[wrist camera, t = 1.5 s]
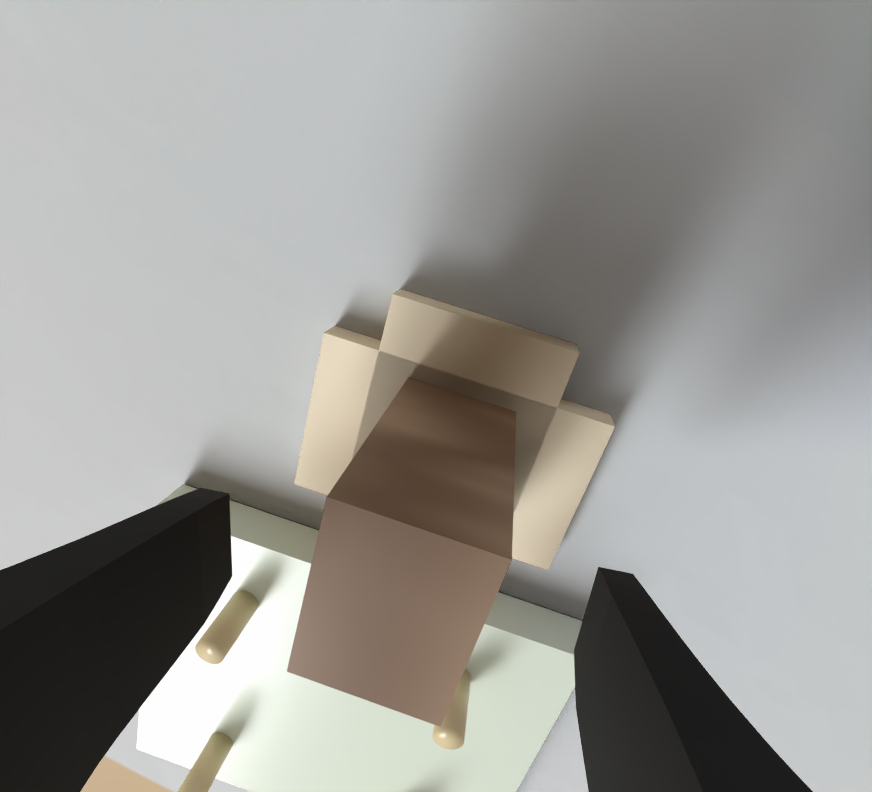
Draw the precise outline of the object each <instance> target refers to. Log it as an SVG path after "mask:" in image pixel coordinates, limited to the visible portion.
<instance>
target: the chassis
mask: <svg viewBox="0 0 872 792" xmlns="http://www.w3.org/2000/svg"><path fill="white" fill-rule="evenodd" d="M194 490H197V489H196V488H193V487H190V486H187V485H184V484H183V485H181V486H180V487H179V488H178V489H177V490H175V491H174V492H173V493H172V494H170V495H169V496H168V497H167V498H165V499H164V500H163V501H162V502H160V503H159V504H162V503H164V502H166V501H169V500H171V499H173V498H176V497H178V496H181V495H183V494H186V493H188V492H191V491H194ZM159 504H158V505H159ZM230 525H231V551H232V578H231V580H230V581H229V583H228V585H227V587H226V588H225V590H224V592H223V594H222V595H221V597H220V599H219V601H218V602H217V604H216V606H215V607H214V609H213V610H212V612H211V614H210V615H209V617H208V619H207V620H206V622H205V624H204V625H203V626H202V628H201V629H200V630H199V632H198V633H197V634H196V636H195V637H194V638H193V640H192V641H191V642H190V644H189V645H188V646H187V647H186V649H185V650H184V651H183V653H182V654H181V655H180V657H179V658H178V659H177V661H176V662H175V663H174V665H173V666H172V667H171V668H170V670H169V671H168V672H167V674H166V675H165V676H164V677H163V679H162V680H161V681H160V683H159V684H158V685H157V687H156V688H155V689H154V690H153V692H152V693H151V694H150V696H149V697H148V698H147V699H146V701H145V702H144V703H143V705H142V706H141V707H140V709H139V720H138V735H137V749H138V750H141V751H143V752H146V753H149V754H151V755H154V756H157V757H159V758H162V759H165V760H167V761H170V762H173V763H176V764H178V765H181V766H184V767H186V768H189V769H191V770H190V772H189V774H188V775H187V777H186V779H185V780H184V782H183V784H182V785H181V787H180V789H179V790H178V792H208V790H209V788H210V786H211V785H212V783H213V781H214V779H215V778H216V779H218V780H221V781H224V782H226V783H229V784H232V785H234V786H237V787H240V788H242V789H245V790H248V791H250V792H516V791H517V789H518V787H519V785H520V784H521V782H522V780H523V778H524V776H525V775H526V773H527V771H528V769H529V768H530V766H531V764H532V762H533V760H534V759H535V757H536V755H537V753H538V752H539V750H540V748H541V746H542V744H543V743H544V741H545V739H546V737H547V735H548V734H549V732H550V730H551V728H552V727H553V725H554V723H555V721H556V719H557V718H558V716H559V714H560V712H561V711H562V709H563V707H564V705H565V703H566V702H567V700H568V698H569V696H570V694H571V693H572V691H573V689H574V687H575V668H574V648H575V645H576V642H577V638H578V635H579V631H580V628H581V625H582V621H581V620H578V619H575V618H572V617H569V616H566V615H563V614H560V613H557V612H555V611H552V610H549V609H546V608H543V607H540V606H537V605H534V604H531V603H528V602H525V601H523V600H520V599H517V598H514V597H511V596H508V595H505V594H502V593H499V592H498V593H497V596H496V598H495V600H494V603H493V605H492V607H491V610H490V612H489V614H488V617H487V619H486V621H485V624H484V626H483V628H482V631H481V633H480V635H479V638H478V640H477V642H476V645H475V647H474V649H473V652H472V654H471V657H470V659H469V661H468V664H467V666H466V668H465V671H464V673H463V675H462V678H461V680H460V682H459V685H458V687H457V689H456V692H455V694H454V696H453V699H452V701H451V703H450V706H449V708H448V710H447V713H446V715H445V717H444V720H443V722H442V724H441V727H439V726H437V725H434V724H431V723H428V722H425V721H423V720H420V719H417V718H414V717H412V716H409V715H406V714H403V713H400V712H398V711H395V710H392V709H389V708H387V707H384V706H381V705H378V704H375V703H373V702H370V701H367V700H364V699H362V698H359V697H356V696H353V695H350V694H348V693H345V692H342V691H339V690H337V689H334V688H331V687H328V686H325V685H323V684H320V683H317V682H314V681H312V680H309V679H306V678H303V677H300V676H298V675H295V674H292V673H289V672H287V668H288V663H289V659H290V655H291V650H292V646H293V642H294V637H295V633H296V628H297V624H298V620H299V615H300V611H301V607H302V602H303V598H304V594H305V589H306V585H307V580H308V576H309V572H310V567H311V563H312V559H313V554H314V550H315V546H316V541H317V537H318V532H319V530H316V529H313V528H310V527H307V526H304V525H301V524H298V523H295V522H292V521H289V520H286V519H284V518H281V517H278V516H275V515H272V514H269V513H266V512H263V511H260V510H257V509H254V508H251V507H249V506H246V505H243V504H240V503H237V502H234V501H231V500H230Z"/></svg>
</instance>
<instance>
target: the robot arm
mask: <svg viewBox="0 0 872 792" xmlns="http://www.w3.org/2000/svg"><path fill="white" fill-rule="evenodd" d="M231 578H232V551H231V525H230V499H229V494H228V493H223V492H218V491H213V490H208V489H203V488H199V489H197V490H194V491H191V492H188V493H186V494H183V495H181V496H178V497H176V498H173V499H171V500H169V501H166V502H164V503H162V504H159V505H157V506H155V507H152V508H150V509H148V510H146V511H143V512H141V513H139V514H136V515H134V516H132V517H130V518H127V519H125V520H123V521H120V522H118V523H116V524H113V525H111V526H109V527H106V528H104V529H102V530H100V531H97V532H95V533H93V534H90V535H88V536H86V537H83V538H81V539H78V540H76V541H73V542H71V543H68V544H66V545H63V546H61V547H58V548H56V549H53V550H51V551H48V552H46V553H43V554H41V555H38V556H36V557H33V558H31V559H28V560H26V561H23V562H21V563H18V564H16V565H13V566H10V567H8V568H5V569H2V570H0V792H80V791H81V789H82V788H83V786H84V785H85V783H86V782H87V780H88V778H89V777H90V776H91V774H92V773H93V771H94V769H95V768H96V766H97V765H98V763H99V762H100V761H101V759H102V758H103V757H104V755H105V754H106V752H107V751H108V750H109V748H110V747H111V745H112V744H113V743H114V741H115V740H116V738H117V737H118V736H119V734H120V733H121V732H122V731H123V729H124V728H125V727H126V725H127V724H128V723H129V722H130V720H131V719H132V718H133V716H134V715H135V714H136V712H137V711H138V710H139V709H140V707H141V706H142V705H143V703H144V702H145V701H146V699H147V698H148V697H149V696H150V694H151V693H152V692H153V690H154V689H155V688H156V687H157V685H158V684H159V683H160V681H161V680H162V679H163V677H164V676H165V675H166V674H167V672H168V671H169V670H170V668H171V667H172V666H173V665H174V663H175V662H176V661H177V659H178V658H179V657H180V655H181V654H182V653H183V651H184V650H185V649H186V647H187V646H188V645H189V644H190V642H191V641H192V640H193V638H194V637H195V636H196V634H197V633H198V632H199V630H200V629H201V628H202V626H203V625H204V624H205V622H206V620H207V619H208V617H209V615H210V614H211V612H212V610H213V609H214V607H215V606H216V604H217V602H218V601H219V599H220V597H221V595H222V594H223V592H224V590H225V588H226V587H227V585H228V583H229V581H230V580H231ZM574 668H575V693H576V710H577V717H578V724H579V731H580V737H581V744H582V751H583V757H584V764H585V770H586V777H587V783H588V789H589V792H813V791H812V790H811V789H810V788H809V787H808V786H807V785H806V784H805V783H804V782H803V781H802V780H801V779H800V778H799V777H798V776H797V775H796V774H795V773H794V772H793V771H792V769H791V768H790V767H789V766H788V765H787V764H786V763H785V762H784V761H783V760H782V759H781V757H780V756H779V755H778V754H777V753H776V752H775V751H774V750H773V749H772V748H771V746H770V745H769V744H768V743H767V742H766V741H765V740H764V738H763V737H762V736H761V735H760V734H759V733H758V732H757V730H756V729H755V728H754V727H753V726H752V725H751V723H750V722H749V721H748V720H747V719H746V718H745V717H744V715H743V714H742V713H741V712H740V711H739V710H738V708H737V707H736V706H735V705H734V704H733V703H732V701H731V700H730V699H729V698H728V697H727V695H726V694H725V693H724V692H723V690H722V689H721V688H720V687H719V686H718V684H717V683H716V682H715V681H714V680H713V678H712V677H711V676H710V675H709V673H708V672H707V671H706V670H705V668H704V667H703V666H702V665H701V663H700V662H699V661H698V659H697V658H696V657H695V656H694V654H693V653H692V652H691V650H690V649H689V648H688V647H687V645H686V644H685V643H684V641H683V640H682V639H681V637H680V636H679V635H678V634H677V632H676V631H675V630H674V628H673V627H672V626H671V624H670V623H669V622H668V620H667V619H666V618H665V616H664V615H663V614H662V612H661V611H660V610H659V608H658V607H657V605H656V604H655V603H654V601H653V600H652V599H651V597H650V596H649V595H648V593H647V592H646V591H645V589H644V588H643V587H642V585H641V584H640V583H639V581H638V580H637V579H636V577H635V576H634V575H633V574H631V573H626V572H621V571H616V570H611V569H606V568H601V567H598V571H597V574H596V577H595V581H594V584H593V587H592V591H591V594H590V598H589V601H588V604H587V608H586V611H585V615H584V618H583V621H582V625H581V628H580V631H579V635H578V638H577V642H576V645H575V648H574Z"/></svg>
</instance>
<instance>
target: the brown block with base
mask: <svg viewBox="0 0 872 792" xmlns="http://www.w3.org/2000/svg"><path fill="white" fill-rule="evenodd" d="M579 354H580V352H579V350H578V347H577V345H576V344H573V343H570V342H567V341H564V340H561V339H557V338H554V337H551V336H548V335H545V334H542V333H538V332H535V331H532V330H529V329H526V328H522V327H519V326H516V325H513V324H510V323H507V322H503V321H500V320H497V319H494V318H491V317H488V316H484V315H481V314H478V313H475V312H472V311H469V310H465V309H462V308H459V307H456V306H453V305H450V304H446V303H443V302H440V301H437V300H434V299H430V298H427V297H424V296H421V295H418V294H415V293H411V292H408V291H405V290H402V289H399V290H398V291H396V292H395V293H393V294H392V298H391V302H390V306H389V311H388V315H387V319H386V323H385V327H384V331H383V335H382V339H381V340H377V339H374V338H371V337H368V336H365V335H362V334H359V333H356V332H352V331H349V330H346V329H343V328H340V327H337V326H334V327H332V328H330V329H329V330H327V331H326V332H324V333H323V339H322V344H321V349H320V354H319V359H318V364H317V369H316V374H315V379H314V384H313V389H312V395H311V400H310V405H309V410H308V415H307V420H306V425H305V430H304V435H303V440H302V446H301V451H300V456H299V461H298V466H297V471H296V476H295V481H294V484H296V485H299V486H302V487H305V488H307V489H310V490H313V491H316V492H319V493H322V494H325V495H328V496H327V498H326V502H325V506H324V511H323V515H322V519H321V524H320V528H319V532H318V537H317V541H316V546H315V550H314V554H313V559H312V563H311V567H310V572H309V576H308V580H307V585H306V589H305V594H304V598H303V602H302V607H301V611H300V615H299V620H298V624H297V628H296V633H295V637H294V642H293V646H292V650H291V655H290V659H289V663H288V668H287V672H289V673H292V674H295V675H298V676H300V677H303V678H306V679H309V680H312V681H314V682H317V683H320V684H323V685H325V686H328V687H331V688H334V689H337V690H339V691H342V692H345V693H348V694H350V695H353V696H356V697H359V698H362V699H364V700H367V701H370V702H373V703H375V704H378V705H381V706H384V707H387V708H389V709H392V710H395V711H398V712H400V713H403V714H406V715H409V716H412V717H414V718H417V719H420V720H423V721H425V722H428V723H431V724H434V725H437V726H439V727H441V724H442V722H443V720H444V717H445V715H446V713H447V710H448V708H449V706H450V703H451V701H452V699H453V696H454V694H455V692H456V689H457V687H458V685H459V682H460V680H461V678H462V675H463V673H464V671H465V668H466V666H467V664H468V661H469V659H470V657H471V654H472V652H473V649H474V647H475V645H476V642H477V640H478V638H479V635H480V633H481V631H482V628H483V626H484V624H485V621H486V619H487V617H488V614H489V612H490V610H491V607H492V605H493V603H494V600H495V598H496V596H497V593H498V591H499V589H500V586H501V584H502V582H503V579H504V577H505V575H506V572H507V570H508V568H509V565H510V563H511V561H512V558H514V559H516V560H519V561H522V562H525V563H528V564H531V565H534V566H537V567H540V568H543V569H546V570H548V569H549V567H550V565H551V562H552V560H553V558H554V556H555V554H556V552H557V550H558V548H559V545H560V543H561V541H562V539H563V537H564V535H565V533H566V530H567V528H568V526H569V524H570V522H571V520H572V518H573V516H574V513H575V511H576V509H577V507H578V505H579V503H580V501H581V498H582V496H583V494H584V492H585V490H586V488H587V486H588V484H589V481H590V479H591V477H592V475H593V473H594V471H595V469H596V466H597V464H598V462H599V460H600V458H601V456H602V454H603V452H604V449H605V447H606V445H607V443H608V441H609V439H610V437H611V434H612V432H613V430H614V428H615V425H614V423H613V421H612V418H611V416H610V414H608V413H605V412H602V411H598V410H595V409H592V408H589V407H586V406H583V405H580V404H577V403H574V402H570V401H567V400H564V399H561V398H562V395H563V393H564V390H565V388H566V386H567V383H568V381H569V378H570V376H571V373H572V371H573V369H574V366H575V364H576V361H577V359H578V356H579Z"/></svg>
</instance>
